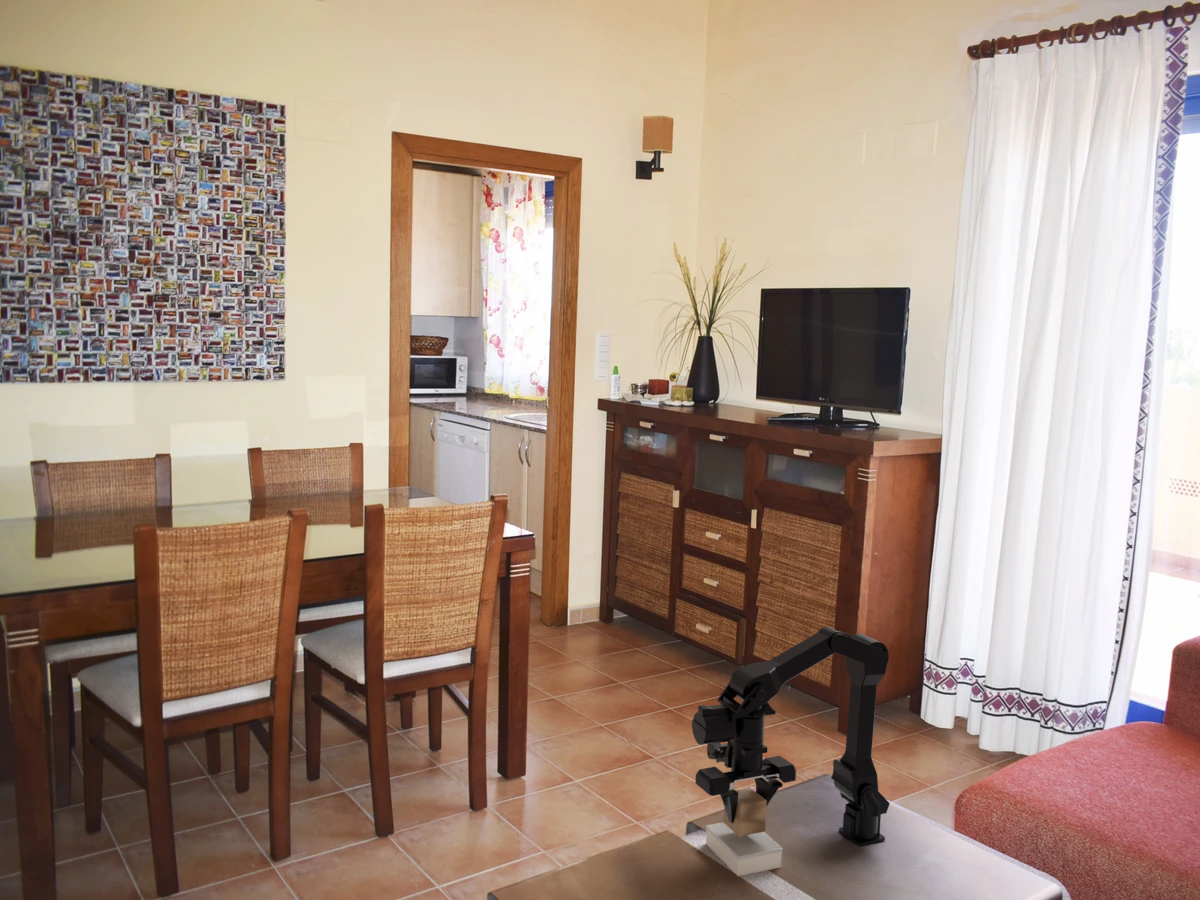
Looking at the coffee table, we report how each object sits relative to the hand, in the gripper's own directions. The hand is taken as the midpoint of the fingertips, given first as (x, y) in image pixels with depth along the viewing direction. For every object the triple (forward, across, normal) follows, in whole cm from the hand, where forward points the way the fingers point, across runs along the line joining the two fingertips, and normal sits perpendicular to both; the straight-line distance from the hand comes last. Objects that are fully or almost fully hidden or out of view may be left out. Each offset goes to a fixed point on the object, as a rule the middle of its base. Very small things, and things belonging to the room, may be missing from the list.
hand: (744, 819), depth 178 cm
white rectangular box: (+7, 0, 0) cm, 7 cm away
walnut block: (+2, 0, 0) cm, 2 cm away
